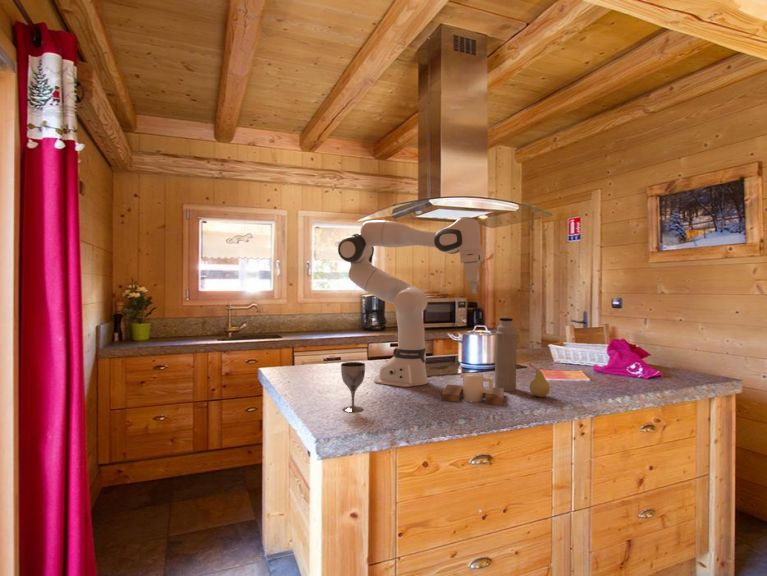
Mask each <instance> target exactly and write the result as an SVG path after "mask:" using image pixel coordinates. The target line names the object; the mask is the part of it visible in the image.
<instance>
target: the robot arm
mask: <svg viewBox="0 0 767 576" xmlns="http://www.w3.org/2000/svg"><path fill="white" fill-rule="evenodd" d="M481 239H482V236H481V230H480V225H479V222H478V220H477V219H475V218H474V217H471V216H470V217H469V216H466V217H465V216H463V217H458V219H456V220H455V222H453V223H451V224H450V225H448V226H446V227H444V228H442V229H439V230H438V231H437V232H433V231H424V230H419V229H416V228H413V227H411V226H409V225H407V224H404V223H401V222H399V221H392V220H385V219H381V220H380V219H376V220H375V219H373V220H367V221H365V222H364V223H363V224H362V226H361V228H360V232H359V233H353V234H352V235H349V236H347V237H345V238H343V239H342V240H341V241H340V242H339V244H338V247H337V252H338V255H339V257H340V258H341V259H342V260H343V261H345V262H348V263H350V268H349V269H348V278H349V279H350V281H352V283H354V284H355V285H356V286H357V287H359V288H360V289H362V290H364V291H365V292H367V293H368V294H370V295H372V296H374V297H376V298H377V299H379V300H381V301H383V302H386V303H388V304H391V305H393V307H394V310H395V316H396V322H397V337H398V338H397V345H398V346H395V347H394V349H393V350H392V354H393V356H392V357H391V358H390V359H388V360H387V361H385V362H384V363H383V364H382V365H381V366H380V370H379V374H378V375H377V376H375V377H374V378H373V382H374V383H375V384H382V385H388V386H389V385H390V386H396V387H404V388H408V387H409V388H410V387H413V386H421V385H427V384H428V383H429V380H428V375H427V372H426V371H427V370H426V361H427V360H426V359H427V358H426V357H427V353H426V352H427V350H426V348H425V338H426V337H425V333H426V332H425V326H424V320H423V312H424V311H425V310H426V308H427V306H428V302H429V301H428V300H429V299H428V296H427V294H426V292H425V291H424V290H422V289H420V288H418V287H416V286H414V285H412V284H409V283H408V282H406V281H404V280H401V279H399V278H397V277H395V276H393V275H390V274H389V273H387V272H385V271H384V270H382V269H380V268H378V267H377V266H374V265H373V264H372V262H373V256H374V253H375V248H374V247H384V248H401V247H402V248H403V247H404V248H405V247H411V246H412V247H413V246H423V247H429V248H436V249H437V250H439V251H441V252H443V253H447V254H450V255H454V254H457V253H458V254H459V260H460V261H459V263H460V264H463V267H464V272H465V273H464V274H465V278H466V281H467V283H469V284H470V290H471V293H472V294H477V293H478V291H479V286H478V285H479V284H478V282H479V280H480V271H479V270H480V269H479V266H481V262H484V258H483V257H484V255H483V247H482V245H481Z"/></svg>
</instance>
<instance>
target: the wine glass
mask: <svg viewBox="0 0 767 576" xmlns="http://www.w3.org/2000/svg"><path fill="white" fill-rule="evenodd" d="M340 372H341V373H340V374H341V379H342V381H343V383H344V385H345V386H346V388H348V389H349V391H350V395H351V405H348V406H345V407H343V408H342V409H341V411H342V410H343V411H342V412H344V413H348V412H349V413H350V414H351V413H352V414H353V413H355V414H356V412H357V413H361V412H364V410H365V409H364V408H363V407H361V406H357V405H355V395H356V391H357V389H358V388H359V387H360V386H361V384H362V383H363V382H364V379H365V374H366V363H364V362H359V361H347V362H342V363H341V364H340Z"/></svg>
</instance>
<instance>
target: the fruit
mask: <svg viewBox="0 0 767 576" xmlns="http://www.w3.org/2000/svg"><path fill="white" fill-rule="evenodd" d="M528 365H529V366H530V367H532V368H533V369H535V377H534V379H533V380H532V381H530V383H529V391H530V393H531V394H532V395H533V396H535V397H538V398H545V397H547V396H548V395H549V393H550V389H551V388H550V387H551V386H550V383H548V381H547V379H546V377H545V376H544V373H543V371H541V369H539V368H537V367H535V366H534V365H532V364H531V363H528Z"/></svg>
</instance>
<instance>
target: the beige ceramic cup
mask: <svg viewBox="0 0 767 576" xmlns="http://www.w3.org/2000/svg"><path fill="white" fill-rule="evenodd" d="M459 375H460V376H459V377H460V379H462V381H463V382H462V383H463V384H462V386H463V395H462V400H463V399H464V400H466V401H465V402H467V401H472V402H471V403H479V402H478V401H482V400H483V401H484V397H483V393H493V388H494V386H493V385H494V383H493V382H494V378H493V377H485V376H484V374H483V373H479V372H464V373H463V372H462V373H460V374H459ZM484 382H488V388H489V389H485V388H483V387H484ZM464 400H463V401H464ZM483 401H482V402H483Z"/></svg>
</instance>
